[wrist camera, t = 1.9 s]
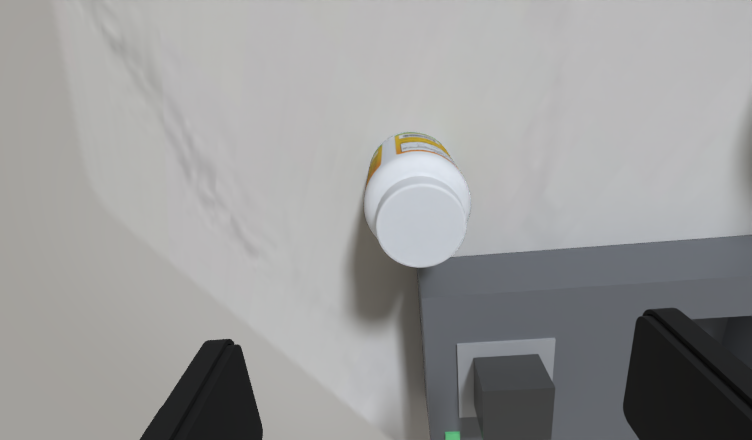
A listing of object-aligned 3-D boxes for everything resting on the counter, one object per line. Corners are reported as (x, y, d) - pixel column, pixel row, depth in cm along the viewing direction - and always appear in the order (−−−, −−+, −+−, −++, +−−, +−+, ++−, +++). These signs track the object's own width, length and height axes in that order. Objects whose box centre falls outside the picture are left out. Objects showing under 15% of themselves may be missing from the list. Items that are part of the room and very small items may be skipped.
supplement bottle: (396, 223, 28) (399, 301, 19) (353, 158, 26) (334, 209, 17) (465, 184, 27) (505, 247, 18) (425, 113, 25) (445, 142, 16)
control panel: (770, 233, 27) (914, 298, 20) (728, 383, 32) (832, 481, 24) (416, 259, 29) (425, 329, 21) (426, 398, 33) (436, 495, 26)
